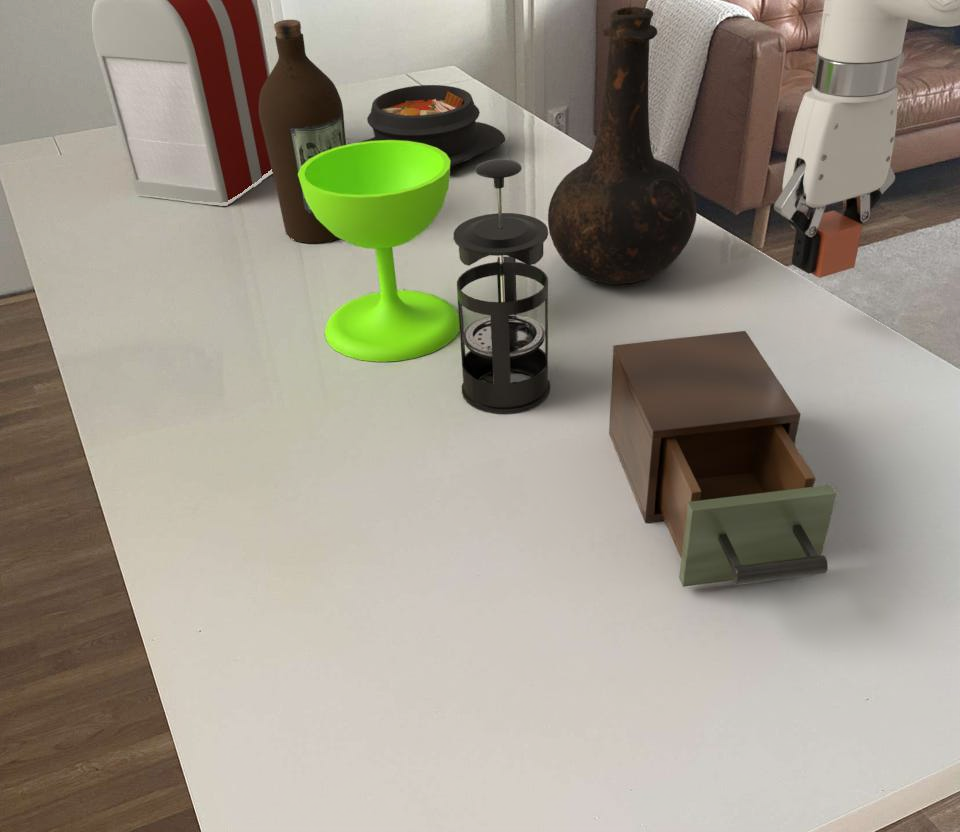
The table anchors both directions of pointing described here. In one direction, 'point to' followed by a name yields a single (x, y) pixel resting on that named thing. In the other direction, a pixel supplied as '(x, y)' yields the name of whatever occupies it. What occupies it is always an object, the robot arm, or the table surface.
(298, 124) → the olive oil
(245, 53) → the tissue box
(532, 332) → the french press
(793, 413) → the cabinet
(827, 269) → the block
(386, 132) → the casserole
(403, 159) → the wineglass
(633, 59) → the glass bottle
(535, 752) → the table surface
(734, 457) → the drawer
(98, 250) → the table surface
